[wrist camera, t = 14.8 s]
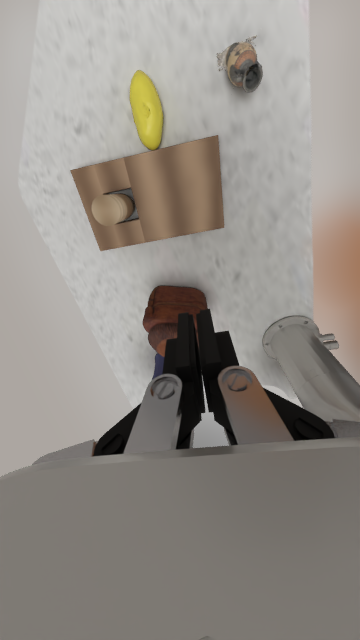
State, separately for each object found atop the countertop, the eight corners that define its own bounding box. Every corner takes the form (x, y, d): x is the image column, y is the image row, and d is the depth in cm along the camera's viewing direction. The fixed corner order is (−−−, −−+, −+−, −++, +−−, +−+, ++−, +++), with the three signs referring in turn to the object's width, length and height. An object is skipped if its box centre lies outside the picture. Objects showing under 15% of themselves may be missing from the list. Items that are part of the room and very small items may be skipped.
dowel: (133, 191, 35) (114, 192, 26) (139, 214, 37) (123, 223, 28) (112, 195, 36) (86, 198, 27) (119, 218, 38) (98, 228, 28)
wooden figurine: (152, 308, 47) (137, 365, 32) (152, 281, 44) (136, 331, 29) (204, 312, 48) (214, 371, 32) (209, 286, 44) (222, 338, 29)
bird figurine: (262, 94, 29) (275, 78, 24) (223, 113, 31) (227, 100, 26) (257, 36, 26) (270, 4, 21) (215, 59, 28) (217, 34, 23)
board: (215, 139, 32) (218, 135, 29) (221, 224, 38) (224, 227, 35) (78, 171, 34) (70, 170, 32) (105, 247, 40) (100, 251, 38)
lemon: (140, 153, 33) (135, 149, 30) (128, 79, 29) (121, 65, 25) (167, 150, 33) (165, 145, 29) (159, 74, 28) (156, 59, 25)
